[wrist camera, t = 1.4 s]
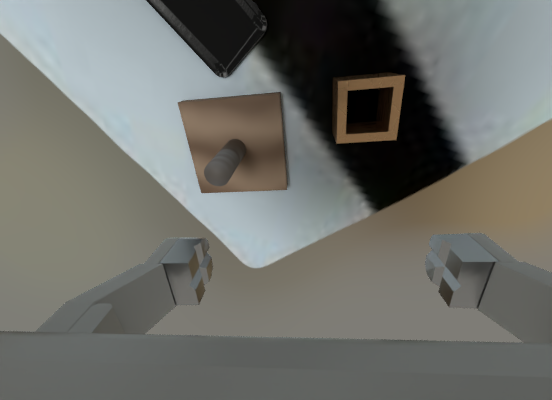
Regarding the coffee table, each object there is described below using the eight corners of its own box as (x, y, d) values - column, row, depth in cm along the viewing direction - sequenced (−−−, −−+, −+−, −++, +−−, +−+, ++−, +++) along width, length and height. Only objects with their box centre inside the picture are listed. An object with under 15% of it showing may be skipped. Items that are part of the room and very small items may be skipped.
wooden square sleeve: (333, 77, 28) (338, 81, 24) (389, 72, 28) (405, 75, 23) (332, 131, 31) (336, 143, 27) (383, 128, 30) (396, 139, 26)
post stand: (182, 100, 31) (139, 116, 23) (280, 92, 30) (271, 105, 21) (205, 188, 37) (176, 225, 29) (287, 184, 35) (282, 223, 27)
